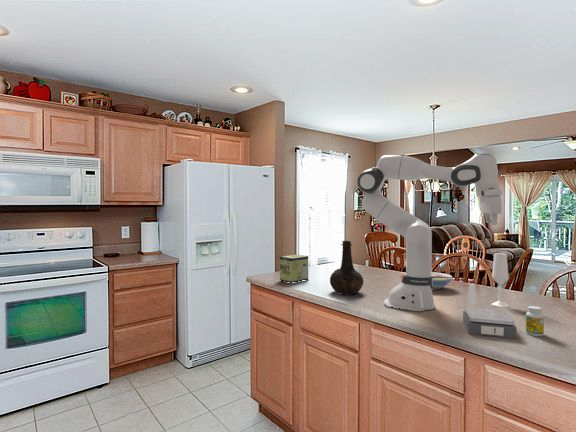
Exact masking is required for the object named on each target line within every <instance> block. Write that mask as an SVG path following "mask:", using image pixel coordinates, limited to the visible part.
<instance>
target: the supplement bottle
mask: <svg viewBox="0 0 576 432" xmlns="http://www.w3.org/2000/svg"><path fill="white" fill-rule="evenodd" d="M544 328H545V317H544V314H542V307H539V306H537V305H536V306H534V305H529V306H527V312H526V313H525V333H526V334H527V335H530V336H534V337H542V336H544V334H545V329H544Z"/></svg>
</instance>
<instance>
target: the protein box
mask: <svg viewBox="0 0 576 432" xmlns="http://www.w3.org/2000/svg"><path fill="white" fill-rule="evenodd" d="M280 280H281V281H285V282H290V283H292V282H298V281H302V280H308V281H309V256H308V255H303V254H291V255H285V256H284V255H282V256H279V281H280Z"/></svg>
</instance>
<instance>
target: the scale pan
mask: <svg viewBox="0 0 576 432" xmlns="http://www.w3.org/2000/svg"><path fill="white" fill-rule="evenodd" d="M464 311H465V312H466V314H467V316H468V318H469V320H470V321H474V322H485V323H496V324H507V325H515V320H514V319H513V318H512V317H511V316H510V315H509V314H508V313H507V312H506V310H501V309H499V310H498V309H489V308H488V309H487V308H477V307H474V308H473V307H464Z"/></svg>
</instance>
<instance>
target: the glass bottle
mask: <svg viewBox="0 0 576 432" xmlns="http://www.w3.org/2000/svg"><path fill="white" fill-rule="evenodd" d="M341 246H342V250H341V251H342V256H341V263H340V267H339V268H337V269H335V270H334V271H333V272H332V273H331V275H330V277H329V283H330V286H331V288H332V289H333V290H334V291H335V293H338V294H339V293H340V294H339V295H344V294H350V295H356V294H357V293H359V291H361V290H362V288H363V286H364V277H363V275H362V273H361V272H359V271H357V270H356V269H355V267H354V264H353V257H352V246H353V244H352V242H351V240H342V243H341Z"/></svg>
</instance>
